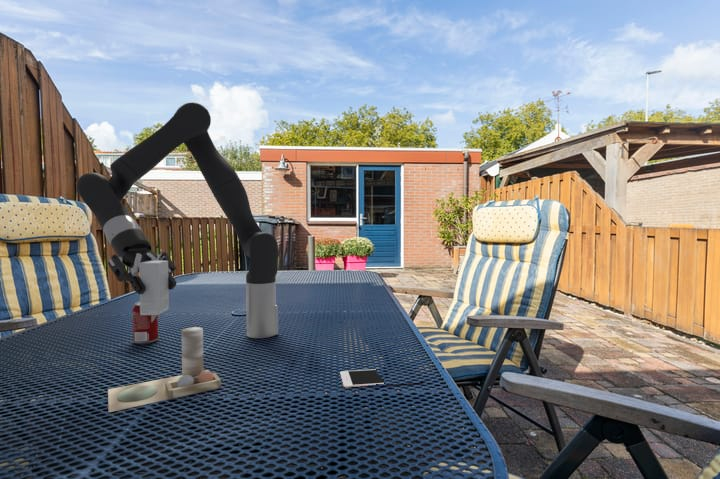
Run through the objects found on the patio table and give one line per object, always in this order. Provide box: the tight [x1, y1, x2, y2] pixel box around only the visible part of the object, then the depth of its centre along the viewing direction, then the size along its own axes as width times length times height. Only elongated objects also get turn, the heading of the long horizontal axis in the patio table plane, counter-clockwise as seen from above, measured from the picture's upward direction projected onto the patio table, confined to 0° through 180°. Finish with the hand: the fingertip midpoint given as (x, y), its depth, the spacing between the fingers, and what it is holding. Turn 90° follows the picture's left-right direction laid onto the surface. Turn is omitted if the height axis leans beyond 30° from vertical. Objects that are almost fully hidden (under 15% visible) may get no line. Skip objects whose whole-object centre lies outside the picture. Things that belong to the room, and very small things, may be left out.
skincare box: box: [138, 261, 170, 316], centre depth 91 cm, size 6×4×12 cm
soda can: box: [131, 301, 159, 345], centre depth 119 cm, size 7×7×12 cm
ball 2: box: [198, 370, 214, 383], centre depth 83 cm, size 3×3×3 cm
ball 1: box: [177, 375, 194, 387], centre depth 81 cm, size 3×3×3 cm
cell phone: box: [339, 368, 384, 389], centre depth 91 cm, size 9×18×1 cm, turn 99°
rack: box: [107, 326, 222, 413], centre depth 82 cm, size 20×12×12 cm, turn 123°
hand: (158, 289), depth 91 cm, fingers closed on skincare box, 7 cm apart
